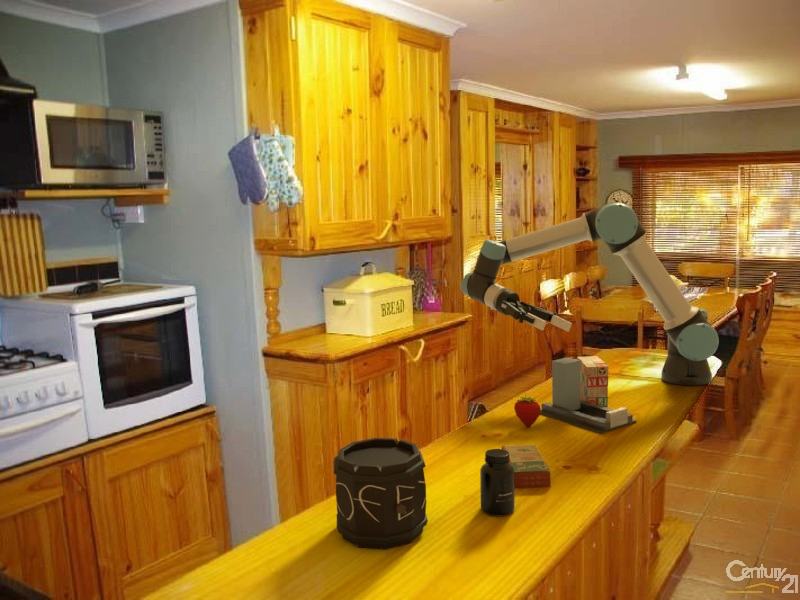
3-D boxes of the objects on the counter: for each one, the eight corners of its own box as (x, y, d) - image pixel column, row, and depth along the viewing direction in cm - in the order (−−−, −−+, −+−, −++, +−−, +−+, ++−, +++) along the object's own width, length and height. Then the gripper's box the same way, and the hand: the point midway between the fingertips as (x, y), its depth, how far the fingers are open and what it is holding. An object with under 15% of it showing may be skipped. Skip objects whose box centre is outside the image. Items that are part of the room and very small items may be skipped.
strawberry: (532, 433, 187) (532, 396, 185) (509, 427, 192) (508, 391, 191) (545, 428, 191) (545, 391, 189) (523, 422, 196) (522, 386, 195)
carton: (536, 461, 170) (536, 443, 169) (551, 489, 154) (551, 469, 153) (501, 462, 169) (501, 445, 169) (512, 490, 154) (512, 471, 153)
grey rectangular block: (567, 404, 208) (567, 357, 205) (580, 408, 203) (580, 360, 201) (552, 408, 204) (552, 360, 202) (565, 412, 200) (565, 364, 198)
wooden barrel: (354, 563, 126) (350, 478, 123) (323, 521, 142) (319, 446, 139) (446, 539, 133) (443, 458, 130) (406, 503, 149) (403, 430, 146)
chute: (571, 403, 212) (571, 388, 211) (636, 422, 193) (636, 405, 192) (537, 413, 204) (537, 397, 203) (601, 433, 185) (601, 416, 184)
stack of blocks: (570, 387, 229) (570, 349, 227) (589, 386, 228) (589, 349, 227) (586, 407, 207) (586, 366, 206) (608, 406, 207) (608, 365, 205)
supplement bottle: (506, 520, 139) (505, 461, 138) (475, 513, 143) (473, 455, 141) (520, 506, 145) (519, 449, 143) (489, 499, 149) (488, 444, 147)
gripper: (521, 313, 231) (575, 339, 217) (473, 309, 213) (528, 337, 199) (529, 291, 230) (584, 316, 215) (481, 285, 212) (537, 312, 198)
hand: (557, 326), depth 207 cm, fingers open, 13 cm apart
